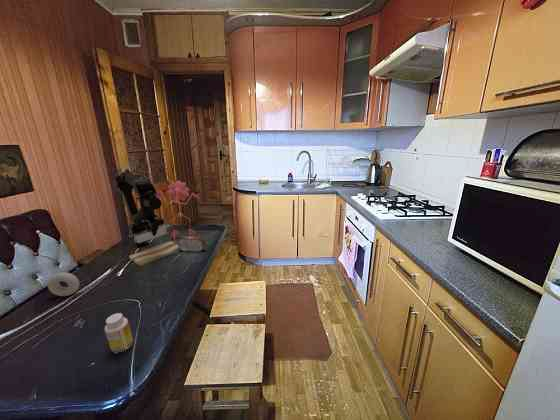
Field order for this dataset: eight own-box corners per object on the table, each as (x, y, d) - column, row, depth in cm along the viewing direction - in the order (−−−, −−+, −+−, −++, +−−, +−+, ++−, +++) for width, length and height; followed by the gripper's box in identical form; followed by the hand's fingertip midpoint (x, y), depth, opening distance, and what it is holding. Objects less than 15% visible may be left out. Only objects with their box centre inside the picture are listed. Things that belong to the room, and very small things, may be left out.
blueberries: (92, 315, 83) (90, 310, 83) (98, 323, 78) (96, 319, 78) (67, 326, 79) (65, 322, 78) (72, 337, 73) (70, 332, 73)
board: (129, 258, 121) (128, 255, 120) (170, 243, 137) (170, 240, 137) (140, 266, 113) (139, 263, 113) (182, 249, 129) (182, 246, 129)
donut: (84, 290, 96) (77, 268, 93) (79, 295, 93) (72, 273, 90) (55, 294, 94) (47, 272, 91) (49, 300, 91) (41, 277, 88)
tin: (207, 250, 128) (205, 235, 125) (204, 252, 125) (202, 238, 122) (180, 249, 129) (178, 235, 127) (177, 252, 126) (175, 237, 124)
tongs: (171, 230, 131) (169, 223, 130) (174, 231, 129) (173, 224, 128) (135, 241, 117) (133, 234, 116) (138, 243, 115) (136, 235, 114)
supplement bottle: (129, 335, 73) (122, 308, 70) (136, 344, 70) (128, 316, 67) (108, 347, 69) (99, 319, 66) (114, 358, 66) (105, 328, 63)
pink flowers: (204, 239, 141) (196, 181, 131) (159, 242, 138) (148, 183, 129) (209, 230, 156) (202, 177, 146) (168, 233, 153) (159, 179, 143)
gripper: (121, 206, 117) (128, 235, 121) (137, 213, 106) (144, 245, 110) (145, 201, 125) (150, 229, 130) (162, 207, 114) (167, 237, 119)
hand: (152, 234), depth 122 cm, fingers closed on tongs, 3 cm apart
